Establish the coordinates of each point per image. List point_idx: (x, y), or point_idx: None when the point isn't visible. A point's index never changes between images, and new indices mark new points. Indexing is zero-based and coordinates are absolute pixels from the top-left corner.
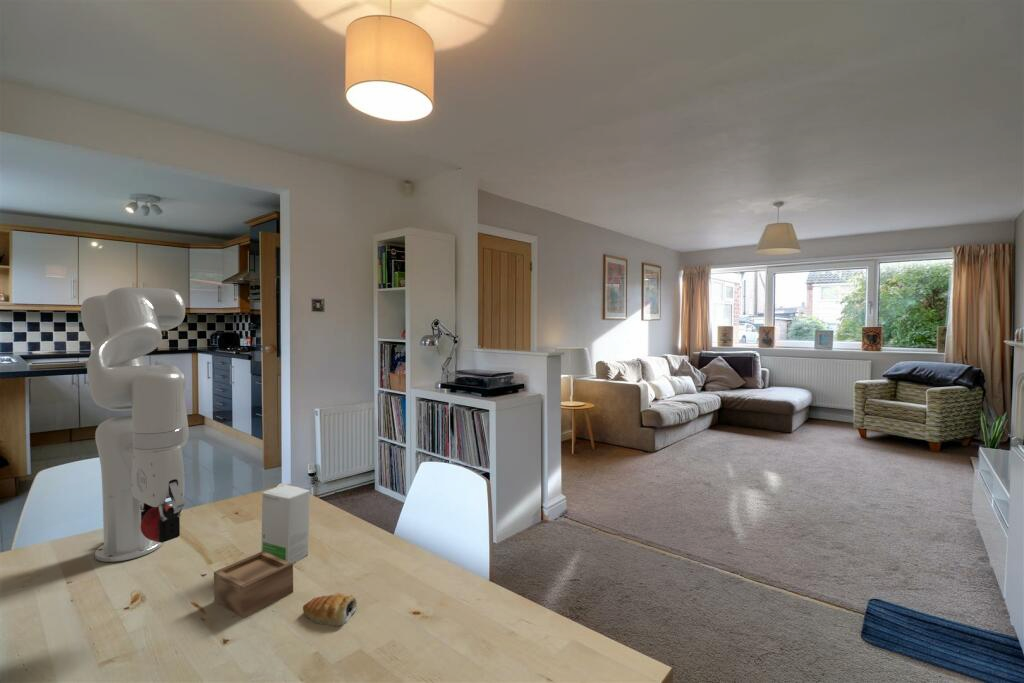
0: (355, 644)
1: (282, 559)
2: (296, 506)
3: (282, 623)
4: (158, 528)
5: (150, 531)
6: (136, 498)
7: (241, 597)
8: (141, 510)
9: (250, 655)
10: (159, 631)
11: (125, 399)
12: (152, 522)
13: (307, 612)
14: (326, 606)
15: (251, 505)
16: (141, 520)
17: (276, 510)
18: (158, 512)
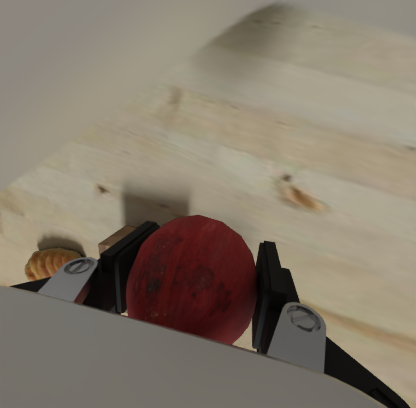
0: (10, 236)
1: (126, 312)
2: None
3: (85, 234)
4: (130, 240)
5: (163, 225)
6: (248, 356)
7: (114, 237)
8: (299, 304)
9: (61, 185)
10: (184, 166)
11: None
12: (147, 247)
13: (64, 252)
14: (38, 261)
15: None
16: (276, 264)
17: None
18: (136, 297)
